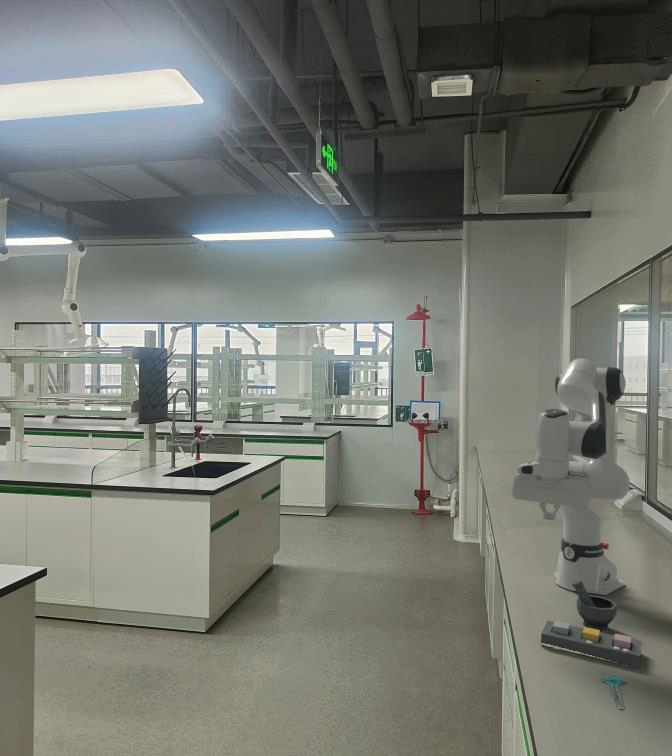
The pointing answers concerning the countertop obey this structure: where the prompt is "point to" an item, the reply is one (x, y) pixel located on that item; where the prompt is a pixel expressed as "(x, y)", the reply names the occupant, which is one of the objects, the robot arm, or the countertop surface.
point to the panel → (593, 645)
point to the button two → (622, 641)
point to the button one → (591, 634)
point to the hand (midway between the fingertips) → (549, 519)
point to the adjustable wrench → (614, 681)
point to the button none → (561, 628)
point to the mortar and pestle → (594, 608)
